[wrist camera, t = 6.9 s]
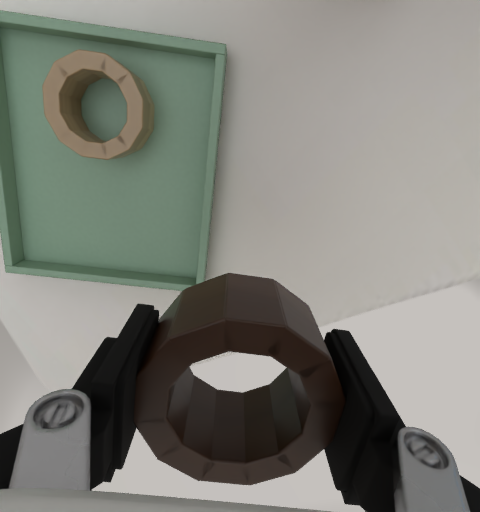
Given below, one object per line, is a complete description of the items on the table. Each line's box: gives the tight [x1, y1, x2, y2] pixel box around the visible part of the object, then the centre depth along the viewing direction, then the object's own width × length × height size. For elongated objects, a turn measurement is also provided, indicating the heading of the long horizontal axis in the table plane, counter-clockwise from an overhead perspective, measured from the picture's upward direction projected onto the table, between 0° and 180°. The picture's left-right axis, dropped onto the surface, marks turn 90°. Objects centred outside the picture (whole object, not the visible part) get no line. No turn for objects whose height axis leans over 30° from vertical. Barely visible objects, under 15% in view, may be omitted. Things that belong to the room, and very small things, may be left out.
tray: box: [0, 10, 227, 291], centre depth 23 cm, size 17×15×2 cm
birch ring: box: [42, 49, 154, 160], centre depth 21 cm, size 6×6×3 cm
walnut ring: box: [134, 273, 346, 485], centre depth 11 cm, size 6×6×3 cm
